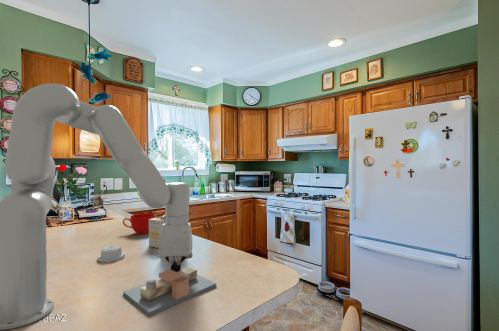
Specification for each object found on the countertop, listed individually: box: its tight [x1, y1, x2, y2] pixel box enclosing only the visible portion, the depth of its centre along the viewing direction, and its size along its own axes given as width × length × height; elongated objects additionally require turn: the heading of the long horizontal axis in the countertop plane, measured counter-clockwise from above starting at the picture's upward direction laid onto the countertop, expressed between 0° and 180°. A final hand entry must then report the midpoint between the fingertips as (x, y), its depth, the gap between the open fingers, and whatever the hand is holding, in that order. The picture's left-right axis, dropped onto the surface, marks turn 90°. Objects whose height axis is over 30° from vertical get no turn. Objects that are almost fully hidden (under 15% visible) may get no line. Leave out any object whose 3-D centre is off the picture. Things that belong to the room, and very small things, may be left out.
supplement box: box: [148, 217, 162, 249], centre depth 123 cm, size 8×5×13 cm, turn 59°
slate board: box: [122, 274, 217, 317], centre depth 79 cm, size 22×16×1 cm
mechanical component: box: [97, 245, 126, 263], centre depth 107 cm, size 10×4×10 cm
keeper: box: [158, 269, 189, 300], centre depth 76 cm, size 4×10×5 cm, turn 48°
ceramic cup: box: [122, 213, 156, 235], centre depth 148 cm, size 13×17×10 cm
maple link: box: [140, 266, 198, 301], centre depth 79 cm, size 18×4×4 cm, turn 147°
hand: (175, 275), depth 86 cm, fingers closed
